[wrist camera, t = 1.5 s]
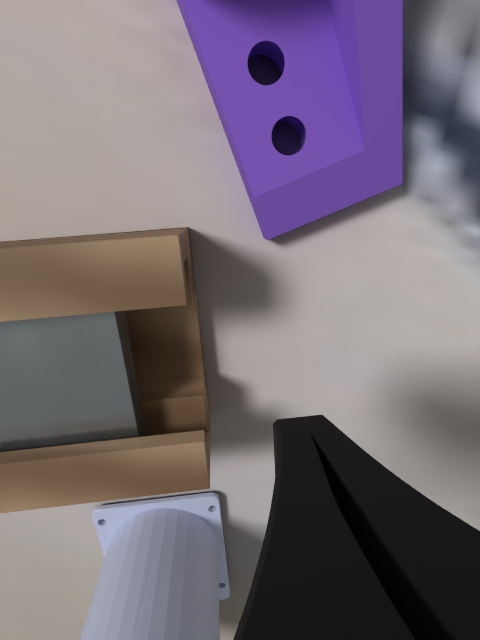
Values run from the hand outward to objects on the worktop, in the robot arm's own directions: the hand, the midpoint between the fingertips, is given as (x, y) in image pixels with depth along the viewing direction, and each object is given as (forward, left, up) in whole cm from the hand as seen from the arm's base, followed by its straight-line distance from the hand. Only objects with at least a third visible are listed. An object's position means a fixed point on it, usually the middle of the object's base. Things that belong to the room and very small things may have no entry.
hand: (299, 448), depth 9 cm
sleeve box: (0, +9, -10) cm, 14 cm away
